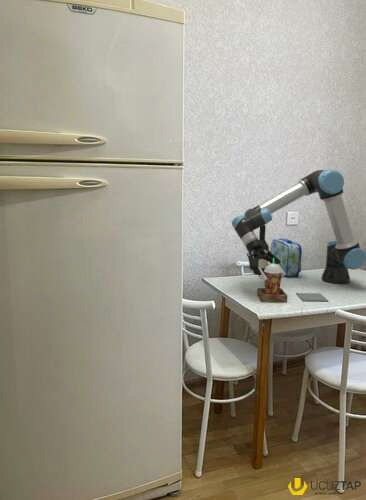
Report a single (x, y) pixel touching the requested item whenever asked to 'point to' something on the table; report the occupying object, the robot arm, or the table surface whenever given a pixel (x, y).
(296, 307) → the table surface
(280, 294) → the tray
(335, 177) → the robot arm
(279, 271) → the smoothie
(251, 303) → the table surface
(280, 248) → the lunch box
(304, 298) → the coaster
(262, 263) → the wine bottle
